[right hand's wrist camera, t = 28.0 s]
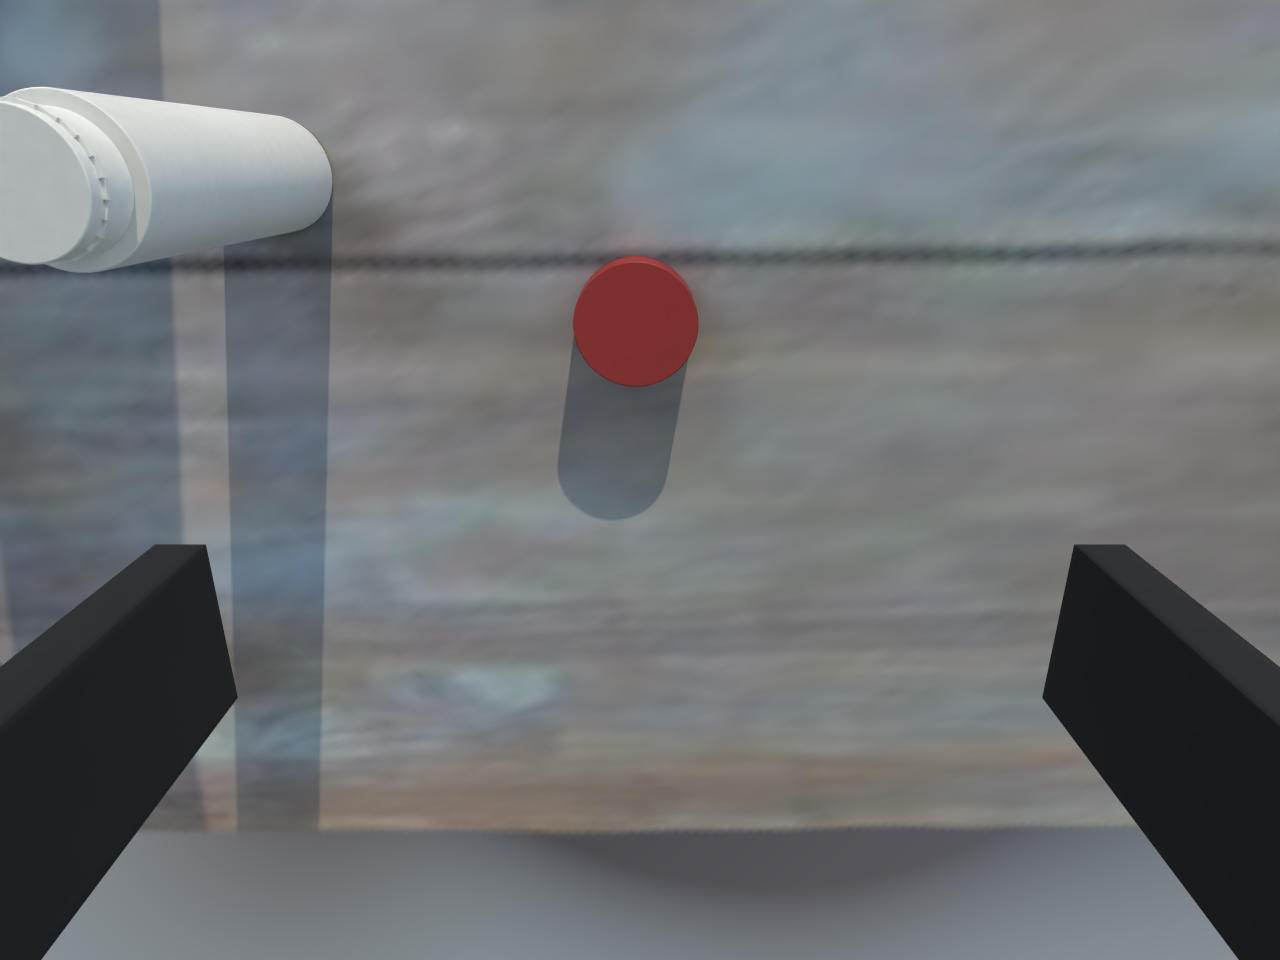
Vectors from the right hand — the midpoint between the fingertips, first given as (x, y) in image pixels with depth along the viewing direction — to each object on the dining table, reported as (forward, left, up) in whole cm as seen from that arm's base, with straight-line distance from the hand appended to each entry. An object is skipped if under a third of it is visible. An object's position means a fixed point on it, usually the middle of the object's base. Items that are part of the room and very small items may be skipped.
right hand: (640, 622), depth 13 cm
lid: (0, 0, -25) cm, 25 cm away
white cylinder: (+13, +11, -26) cm, 31 cm away
